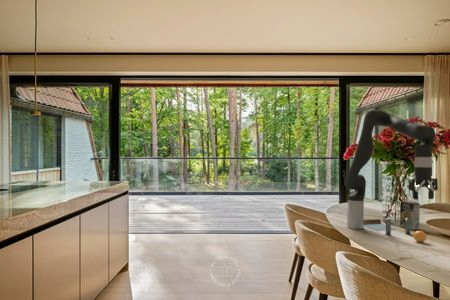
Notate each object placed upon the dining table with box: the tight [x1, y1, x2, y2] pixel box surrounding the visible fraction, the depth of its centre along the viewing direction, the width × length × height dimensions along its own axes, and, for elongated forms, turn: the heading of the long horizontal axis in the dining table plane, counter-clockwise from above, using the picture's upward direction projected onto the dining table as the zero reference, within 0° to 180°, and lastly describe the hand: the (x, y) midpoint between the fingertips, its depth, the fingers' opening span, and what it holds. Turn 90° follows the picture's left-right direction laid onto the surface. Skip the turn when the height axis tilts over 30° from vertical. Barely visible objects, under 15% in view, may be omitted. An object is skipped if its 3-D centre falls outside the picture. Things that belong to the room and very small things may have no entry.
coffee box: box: [399, 200, 421, 230], centre depth 206 cm, size 9×6×16 cm
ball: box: [412, 230, 427, 243], centre depth 173 cm, size 6×6×6 cm
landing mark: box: [363, 223, 397, 232], centre depth 206 cm, size 14×14×1 cm
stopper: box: [363, 218, 382, 225], centre depth 216 cm, size 2×18×2 cm, turn 102°
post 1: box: [385, 218, 392, 236], centre depth 188 cm, size 3×3×9 cm
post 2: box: [404, 218, 412, 235], centre depth 190 cm, size 3×3×9 cm
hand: (423, 199), depth 160 cm, fingers open, 8 cm apart
